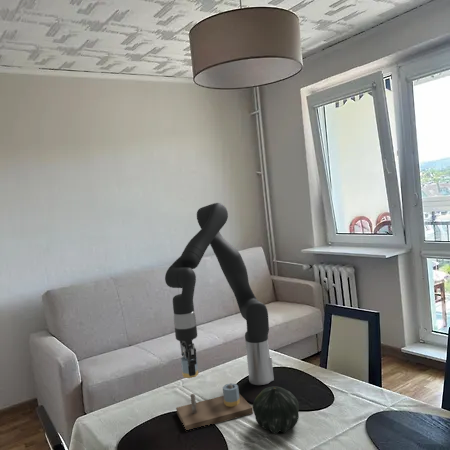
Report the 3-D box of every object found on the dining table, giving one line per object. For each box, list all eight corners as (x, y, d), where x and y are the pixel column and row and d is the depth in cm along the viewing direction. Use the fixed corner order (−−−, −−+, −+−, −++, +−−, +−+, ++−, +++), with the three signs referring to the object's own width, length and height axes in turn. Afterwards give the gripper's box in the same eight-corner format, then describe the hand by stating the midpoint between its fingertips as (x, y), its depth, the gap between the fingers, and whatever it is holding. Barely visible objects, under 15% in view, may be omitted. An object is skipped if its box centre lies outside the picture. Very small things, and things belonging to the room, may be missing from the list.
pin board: (238, 397, 169) (236, 374, 168) (252, 413, 155) (250, 388, 155) (176, 412, 161) (174, 389, 160) (186, 431, 148) (183, 405, 147)
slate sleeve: (195, 370, 158) (194, 354, 158) (199, 375, 153) (198, 358, 153) (181, 373, 156) (179, 357, 156) (184, 379, 151) (183, 362, 151)
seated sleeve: (236, 398, 163) (234, 382, 163) (241, 404, 159) (239, 387, 158) (222, 401, 162) (221, 385, 161) (227, 407, 157) (225, 391, 156)
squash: (273, 393, 157) (255, 373, 148) (312, 404, 148) (295, 383, 139) (258, 432, 150) (238, 414, 141) (297, 447, 141) (278, 428, 132)
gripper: (201, 328, 148) (206, 377, 149) (190, 317, 161) (195, 363, 163) (179, 332, 145) (184, 382, 147) (170, 321, 159) (175, 367, 160)
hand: (190, 372), depth 155 cm, fingers closed on slate sleeve, 5 cm apart
